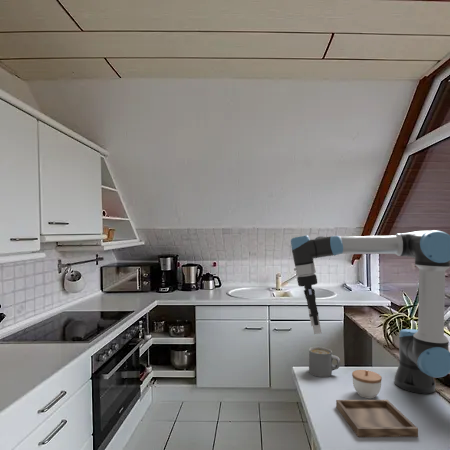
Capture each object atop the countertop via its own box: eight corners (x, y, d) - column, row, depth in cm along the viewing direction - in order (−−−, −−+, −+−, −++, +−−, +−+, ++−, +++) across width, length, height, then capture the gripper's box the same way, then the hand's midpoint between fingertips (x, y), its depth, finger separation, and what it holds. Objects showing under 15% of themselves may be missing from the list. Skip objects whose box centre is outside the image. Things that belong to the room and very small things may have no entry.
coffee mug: (306, 374, 159) (306, 351, 159) (312, 366, 167) (312, 345, 167) (337, 380, 152) (337, 357, 152) (341, 372, 161) (341, 350, 161)
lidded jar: (384, 402, 133) (384, 377, 133) (354, 399, 135) (354, 374, 135) (378, 390, 143) (378, 366, 144) (350, 387, 145) (350, 364, 146)
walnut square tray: (387, 406, 130) (387, 399, 130) (417, 436, 111) (418, 428, 111) (336, 406, 129) (336, 399, 129) (358, 437, 110) (358, 428, 110)
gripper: (295, 274, 153) (304, 323, 151) (297, 279, 129) (308, 338, 127) (313, 271, 152) (322, 321, 150) (318, 276, 128) (330, 335, 126)
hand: (316, 329), depth 138 cm, fingers open, 13 cm apart
